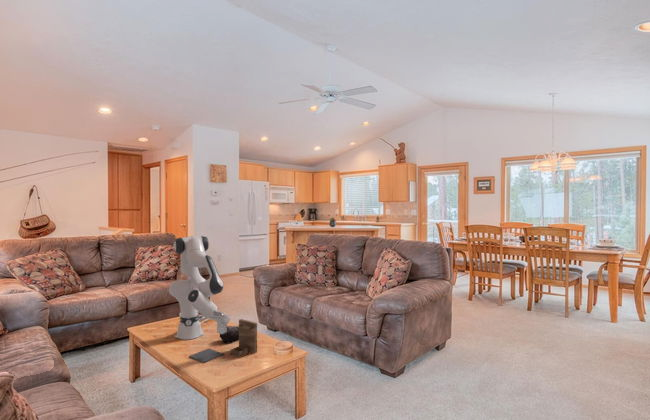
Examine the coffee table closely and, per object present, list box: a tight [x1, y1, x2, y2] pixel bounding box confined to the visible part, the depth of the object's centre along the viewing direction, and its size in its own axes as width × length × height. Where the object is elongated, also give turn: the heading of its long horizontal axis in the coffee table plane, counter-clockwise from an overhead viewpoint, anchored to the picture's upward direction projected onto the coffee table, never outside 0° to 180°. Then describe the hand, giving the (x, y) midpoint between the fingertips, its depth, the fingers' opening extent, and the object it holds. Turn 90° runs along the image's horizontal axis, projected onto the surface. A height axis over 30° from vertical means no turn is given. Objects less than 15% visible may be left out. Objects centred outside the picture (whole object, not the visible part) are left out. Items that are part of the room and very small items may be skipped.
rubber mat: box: [188, 347, 224, 364], centre depth 218 cm, size 14×14×1 cm
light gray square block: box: [216, 321, 228, 335], centre depth 220 cm, size 4×4×10 cm
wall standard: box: [230, 318, 258, 358], centre depth 223 cm, size 12×14×18 cm
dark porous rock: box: [219, 325, 239, 344], centre depth 245 cm, size 10×18×10 cm, turn 143°
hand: (222, 322), depth 220 cm, fingers closed on light gray square block, 4 cm apart
